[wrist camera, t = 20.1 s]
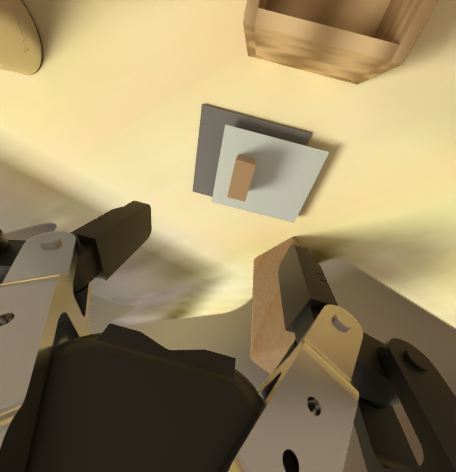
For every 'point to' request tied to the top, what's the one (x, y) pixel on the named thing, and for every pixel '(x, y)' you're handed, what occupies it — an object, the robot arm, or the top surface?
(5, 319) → the robot arm
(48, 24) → the top surface
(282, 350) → the wooden block
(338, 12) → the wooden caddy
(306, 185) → the lid
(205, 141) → the mat
